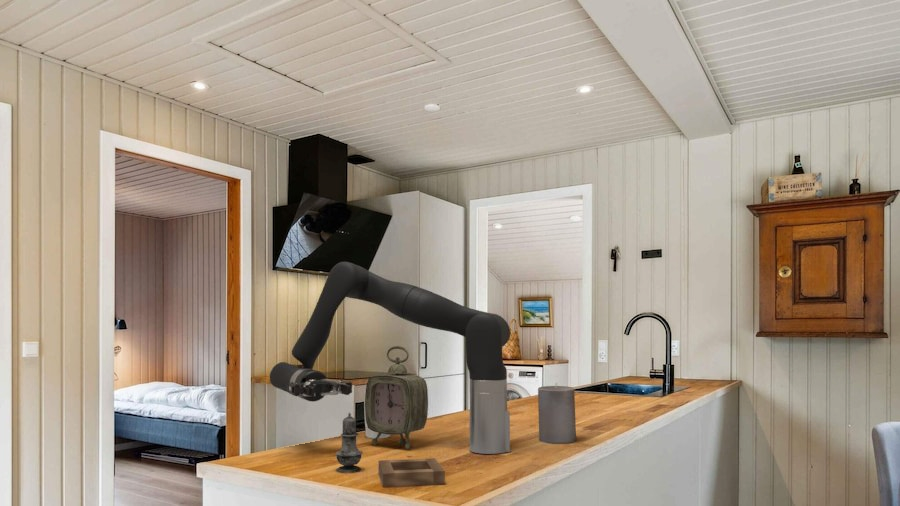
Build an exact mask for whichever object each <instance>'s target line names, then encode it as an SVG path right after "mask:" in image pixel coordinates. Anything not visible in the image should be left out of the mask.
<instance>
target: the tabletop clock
mask: <svg viewBox="0 0 900 506" xmlns="http://www.w3.org/2000/svg"><path fill="white" fill-rule="evenodd" d="M392 350H401V351H403V352H405V354H406V358H404V359H400V357H398V356H396V357H395V359H393V358H391V357H390V356H389V355H390V352H392ZM409 355H410V354H409V351H408V350H407V349H406V348H405V347H403V346H400V345H399V346H398V345H396V346H392V347H389V349H387V352H386V357H387V359H388V361H389V362H391V363H395V364H392V365H390V366H389V368H388V370H387V374H383V375H381V374H380V375H375V376H370V377H369V378H368V380H367V382H366V387H365V394H364V395H365V398H364V399H365V415H364V417H365V416H366V423H367V426H368V428H369V429H370V430H372V431H374V432H378V435H377V437H376V438H371V444H372V445H373V446H376V445H377V444H378V443H379V440H378V438H379V437H380V435H381V434H389V435H391V436H392V435H399V437H400V439H399V443H400V445H404V448H405V449H406V450H410V449H411V448H412V443H411V442H410V433H412V432H418V431H421V430H423V429H424V428H425V426H426V423H427V420H428V416H429V413H428V411H429V393H428V391H429V390H428V385H427V381H426V379H425V378H423V377H422V376H419V375H415V374H410V373H409V374H408V370H407V368H406V366H405V365H404V364H403V363H404V362H405V363H406V361H407V360H409ZM404 436H405V437H404Z"/></svg>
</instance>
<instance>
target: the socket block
mask: <svg viewBox="0 0 900 506" xmlns="http://www.w3.org/2000/svg"><path fill="white" fill-rule="evenodd" d="M377 468H378V476H379V479H380V482H381V485H382V486H381V487H382V488H393V487H394V488H396V487H411V486H412V487H415V486H419V487H420V486H434V485H435V486H436V485H437V486H438V485H446V471H445V469H444V468H443V467H442V465H441V463H440V462H439V461H438V460H437V459H436V457H435V458H432V457H431V458H429V457H428V458H412V459H411V458H410V459H409V458H408V459H406V458H405V459H386V460H378V467H377Z"/></svg>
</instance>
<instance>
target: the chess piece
mask: <svg viewBox="0 0 900 506" xmlns="http://www.w3.org/2000/svg"><path fill="white" fill-rule="evenodd" d="M351 415H352V414H351V412H348V414H347V417H345V418H343V420H342V433H341V434H340V436H341V447H340V449H339V451H336V452H335V453H334V455H335V456H336V461H337V463H339V464H340V465H341V466H339V467H337V469H336V472H337V471H338V472H337V473H341V472H342V473H341V474H343V473H344V474H352V473H357V472H358V473H359V472H360V471H362V468H361V467H360V466H358V465H357V464H359V462H360V461H361V459H362V455H364V451H362V450H359V449H358V447H357V436H358V433H357V419H356V418H355V417H353V416H351Z"/></svg>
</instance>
